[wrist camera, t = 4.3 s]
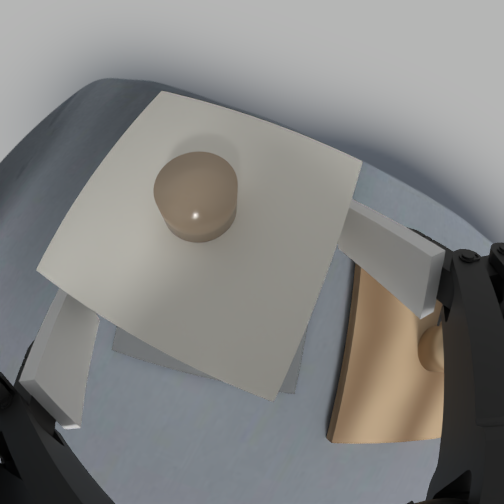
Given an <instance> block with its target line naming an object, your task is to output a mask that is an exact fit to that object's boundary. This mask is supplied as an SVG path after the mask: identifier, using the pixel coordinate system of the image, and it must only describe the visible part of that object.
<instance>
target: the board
mask: <svg viewBox="0 0 504 504" xmlns="http://www.w3.org/2000/svg"><path fill="white" fill-rule="evenodd" d="M441 307H442V303H441V302H440V301H438V300H437V299H436V304H435V308H434V312H432V313H431V314H429V315H427V316H425V317H424V318H422V319H419V318H418V317H417V316H416V315H415V314H414V313H413V312H412V311H411V310H410V309H408V308H407V307H406V306H405V305H404V304H403V303H402V302H401V301H399V300H398V299H397V298H396V297H395V296H394V295H393V294H392V293H390V292H389V291H388V290H387V289H386V288H385V287H384V286H382V285H381V284H380V283H379V282H378V281H377V280H375V279H374V278H373V277H372V276H371V275H370V274H368V273H367V272H366V271H365V270H364V269H363V268H361V267H360V266H359V265H358V264H357V263H355V273H354V283H353V292H352V301H351V309H350V317H349V324H348V331H347V338H346V344H345V350H344V356H343V362H342V368H341V373H340V378H339V383H338V388H337V393H336V398H335V403H334V407H333V412H332V416H331V420H330V425H329V429H328V433H327V437H326V438H327V439H328V440H329V441H330V442H331V443H391V442H406V441H417V440H426V439H435V438H441V433H442V421H443V404H444V372H431V371H428V370H426V369H425V368H424V367H423V366H422V365H421V363H420V361H419V358H418V344H419V341H420V338H421V336H422V334H423V333H424V332H425V331H426V330H427V329H428V328H430V327H432V326H437V322H438V318H439V315H440V311H441ZM440 325H442V321H441V322H440Z"/></svg>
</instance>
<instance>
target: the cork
mask: <svg viewBox="0 0 504 504" xmlns="http://www.w3.org/2000/svg"><path fill="white" fill-rule="evenodd" d="M418 358H419V361H420V363H421V365H422V366H423V367H424V368H425V369H426V370H428V371H431V372H444V352H443V334H442V325H439V326H432V327H430V328H428V329H427V330H426V331H425V332H424V333H423V334H422V336H421V338H420V341H419V344H418Z"/></svg>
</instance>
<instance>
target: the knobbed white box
mask: <svg viewBox="0 0 504 504" xmlns="http://www.w3.org/2000/svg"><path fill="white" fill-rule="evenodd" d="M362 162H363V161H361V160H359V159H357V158H355V157H352V156H350V155H348V154H346V153H344V152H342V151H339V150H337V149H335V148H333V147H330V146H328V145H326V144H324V143H321V142H319V141H316V140H314V139H312V138H309V137H307V136H304V135H302V134H299V133H297V132H294V131H292V130H289V129H287V128H284V127H281V126H279V125H276V124H273V123H270V122H268V121H265V120H262V119H259V118H256V117H253V116H250V115H247V114H244V113H241V112H238V111H235V110H232V109H228V108H225V107H222V106H219V105H215V104H212V103H208V102H205V101H201V100H197V99H194V98H190V97H186V96H182V95H178V94H174V93H170V92H165V91H161V92H160V93H159V94H158V95H157V96H156V97H155V98H154V100H153V101H152V102H151V103H150V104H149V105H148V106H147V107H146V108H145V109H144V111H143V112H142V113H141V114H140V115H139V116H138V117H137V119H136V120H135V121H134V122H133V123H132V124H131V126H130V127H129V128H128V129H127V130H126V132H125V133H124V134H123V135H122V136H121V138H120V139H119V140H118V141H117V143H116V144H115V145H114V147H113V148H112V149H111V150H110V152H109V153H108V154H107V156H106V157H105V158H104V160H103V161H102V162H101V164H100V165H99V166H98V168H97V169H96V171H95V172H94V173H93V175H92V176H91V178H90V179H89V181H88V182H87V184H86V185H85V186H84V188H83V189H82V191H81V192H80V194H79V195H78V197H77V199H76V200H75V202H74V203H73V205H72V206H71V208H70V210H69V211H68V213H67V215H66V216H65V218H64V220H63V221H62V223H61V225H60V226H59V228H58V230H57V232H56V233H55V235H54V237H53V239H52V240H51V242H50V244H49V246H48V248H47V250H46V252H45V254H44V255H43V257H42V259H41V261H40V263H39V265H38V267H37V269H36V270H37V271H38V272H39V273H41V274H42V275H43V276H45V277H46V278H47V279H48V280H50V281H51V282H53V283H54V284H55V285H57V286H58V287H59V288H61V289H62V290H63V291H65V292H66V293H68V294H69V295H71V296H72V297H73V298H75V299H76V300H78V301H79V302H81V303H82V304H84V305H85V306H87V307H88V308H90V309H91V310H93V311H94V312H96V313H97V314H99V315H100V316H102V317H104V318H105V319H107V320H108V321H110V322H112V323H113V324H115V325H116V326H118V327H120V328H121V329H123V330H125V331H126V332H128V333H130V334H131V335H133V336H135V337H137V338H138V339H140V340H142V341H144V342H145V343H147V344H149V345H151V346H153V347H154V348H156V349H158V350H160V351H162V352H164V353H166V354H168V355H169V356H171V357H173V358H175V359H177V360H179V361H181V362H183V363H185V364H187V365H189V366H191V367H193V368H195V369H197V370H199V371H201V372H204V373H206V374H208V375H210V376H212V377H214V378H217V379H219V380H221V381H223V382H225V383H228V384H230V385H232V386H235V387H237V388H239V389H242V390H244V391H247V392H249V393H251V394H254V395H256V396H259V397H262V398H264V399H267V400H269V401H272V402H274V400H275V398H276V396H277V394H278V392H279V390H280V387H281V385H282V383H283V381H284V379H285V376H286V374H287V372H288V370H289V367H290V365H291V363H292V360H293V358H294V356H295V353H296V351H297V349H298V346H299V344H300V342H301V339H302V337H303V334H304V332H305V329H306V327H307V325H308V322H309V320H310V317H311V315H312V312H313V309H314V307H315V304H316V302H317V299H318V296H319V294H320V291H321V288H322V286H323V283H324V280H325V278H326V275H327V272H328V269H329V267H330V264H331V261H332V258H333V255H334V252H335V249H336V246H337V244H338V241H339V238H340V235H341V232H342V228H343V225H344V222H345V219H346V216H347V213H348V210H349V207H350V203H351V200H352V197H353V193H354V190H355V187H356V183H357V180H358V176H359V173H360V169H361V166H362Z"/></svg>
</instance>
